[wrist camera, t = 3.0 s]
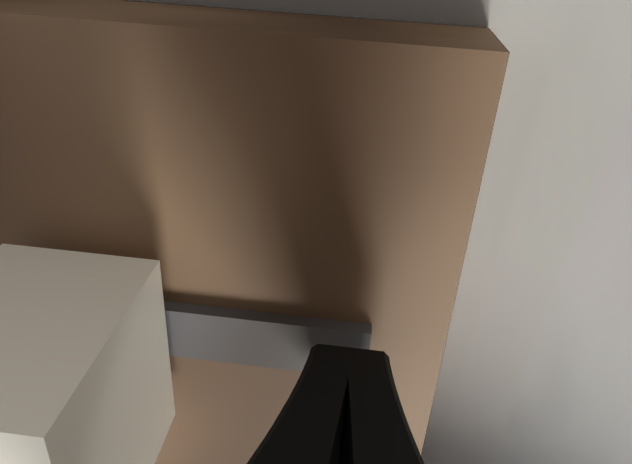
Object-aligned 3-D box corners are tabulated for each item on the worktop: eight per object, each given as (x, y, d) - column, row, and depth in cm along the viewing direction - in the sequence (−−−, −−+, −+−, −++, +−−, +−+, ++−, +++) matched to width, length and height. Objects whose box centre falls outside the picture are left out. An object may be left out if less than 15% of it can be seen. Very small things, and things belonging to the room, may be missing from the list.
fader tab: (43, 397, 12) (-89, 583, 9) (2, 243, 10) (-188, 407, 7) (175, 414, 12) (91, 611, 9) (159, 260, 10) (44, 437, 7)
